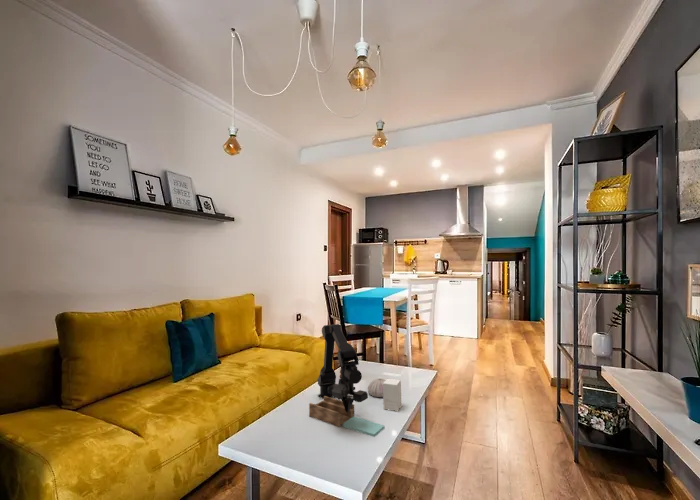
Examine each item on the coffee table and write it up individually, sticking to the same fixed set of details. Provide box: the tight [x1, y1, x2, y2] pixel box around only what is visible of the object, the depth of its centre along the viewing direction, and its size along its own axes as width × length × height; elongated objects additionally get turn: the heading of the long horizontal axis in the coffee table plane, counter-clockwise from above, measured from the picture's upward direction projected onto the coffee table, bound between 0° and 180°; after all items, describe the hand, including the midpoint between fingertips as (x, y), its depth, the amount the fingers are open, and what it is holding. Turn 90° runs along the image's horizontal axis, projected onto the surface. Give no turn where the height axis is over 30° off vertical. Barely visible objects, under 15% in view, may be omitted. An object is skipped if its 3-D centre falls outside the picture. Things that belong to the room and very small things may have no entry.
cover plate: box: [342, 415, 385, 438], centre depth 140 cm, size 16×9×2 cm, turn 55°
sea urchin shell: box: [367, 378, 386, 398], centre depth 176 cm, size 13×14×8 cm
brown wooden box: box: [308, 396, 355, 428], centre depth 150 cm, size 18×11×6 cm, turn 53°
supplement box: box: [382, 378, 402, 412], centre depth 159 cm, size 7×7×13 cm
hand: (347, 412), depth 144 cm, fingers closed
